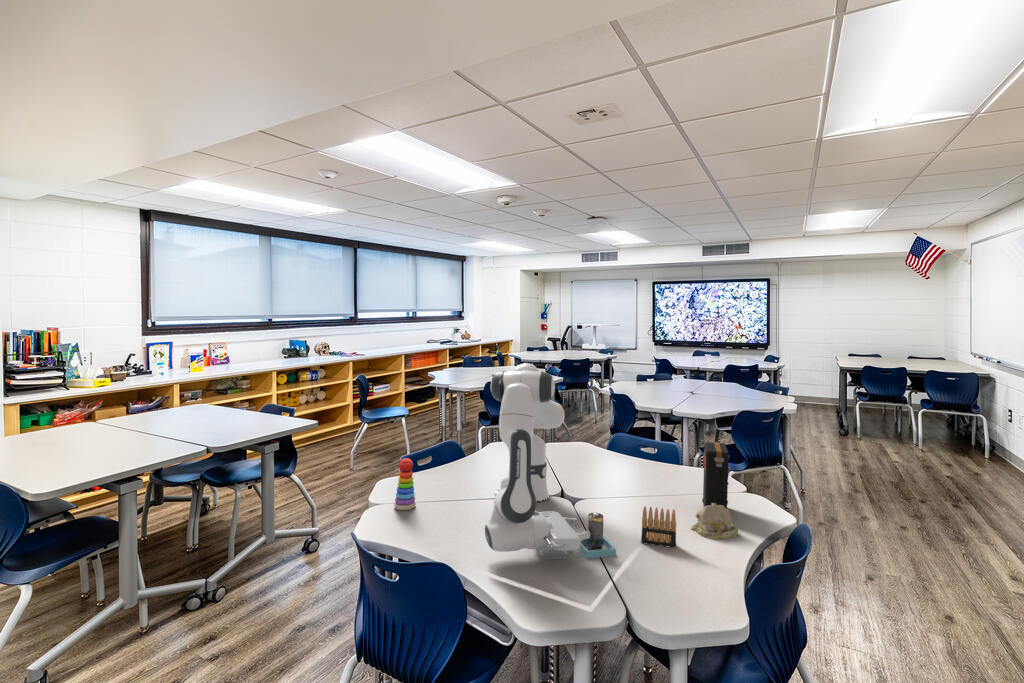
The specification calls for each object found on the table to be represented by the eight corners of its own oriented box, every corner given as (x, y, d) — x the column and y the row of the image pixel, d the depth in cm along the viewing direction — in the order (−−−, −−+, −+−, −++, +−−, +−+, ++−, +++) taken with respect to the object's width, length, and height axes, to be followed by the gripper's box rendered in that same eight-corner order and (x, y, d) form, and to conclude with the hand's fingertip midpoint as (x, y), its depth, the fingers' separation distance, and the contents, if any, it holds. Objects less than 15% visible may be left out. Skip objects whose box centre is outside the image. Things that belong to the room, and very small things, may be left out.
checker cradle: (539, 562, 143) (539, 559, 143) (535, 550, 151) (535, 546, 151) (572, 561, 144) (572, 557, 144) (566, 548, 152) (566, 545, 152)
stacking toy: (398, 512, 179) (398, 462, 179) (391, 505, 186) (391, 457, 185) (418, 508, 184) (418, 459, 183) (411, 501, 190) (410, 454, 190)
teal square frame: (586, 561, 144) (586, 552, 144) (575, 547, 153) (575, 538, 153) (615, 558, 146) (615, 548, 146) (602, 544, 155) (603, 535, 155)
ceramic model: (700, 539, 159) (700, 509, 159) (687, 525, 171) (687, 497, 170) (742, 539, 160) (743, 509, 159) (726, 525, 171) (727, 497, 171)
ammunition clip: (676, 545, 155) (676, 508, 155) (676, 547, 153) (676, 510, 153) (641, 540, 158) (642, 504, 158) (641, 543, 156) (641, 506, 156)
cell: (585, 552, 148) (586, 514, 148) (589, 546, 153) (590, 509, 152) (600, 555, 147) (601, 517, 146) (604, 549, 151) (605, 512, 150)
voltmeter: (729, 521, 174) (731, 452, 172) (703, 518, 176) (705, 450, 175) (725, 506, 188) (727, 442, 187) (701, 503, 191) (703, 440, 190)
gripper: (550, 536, 135) (597, 531, 138) (530, 509, 155) (571, 505, 158) (550, 559, 135) (596, 553, 138) (530, 528, 155) (571, 524, 158)
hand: (583, 527), depth 148 cm, fingers open, 8 cm apart
